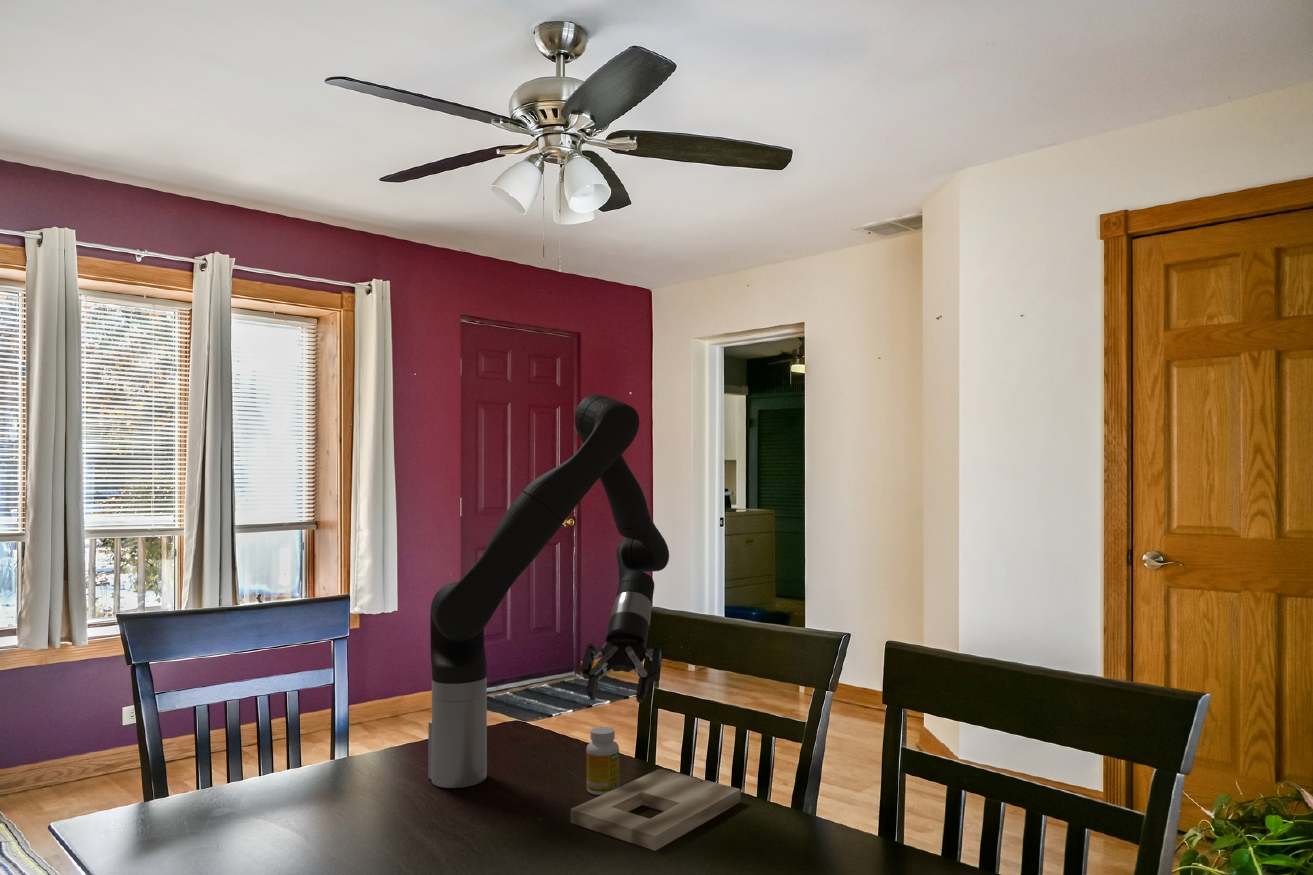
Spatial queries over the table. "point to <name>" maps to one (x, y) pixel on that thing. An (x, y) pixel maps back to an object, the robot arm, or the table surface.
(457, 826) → the table surface
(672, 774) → the socket board
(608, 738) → the supplement bottle
